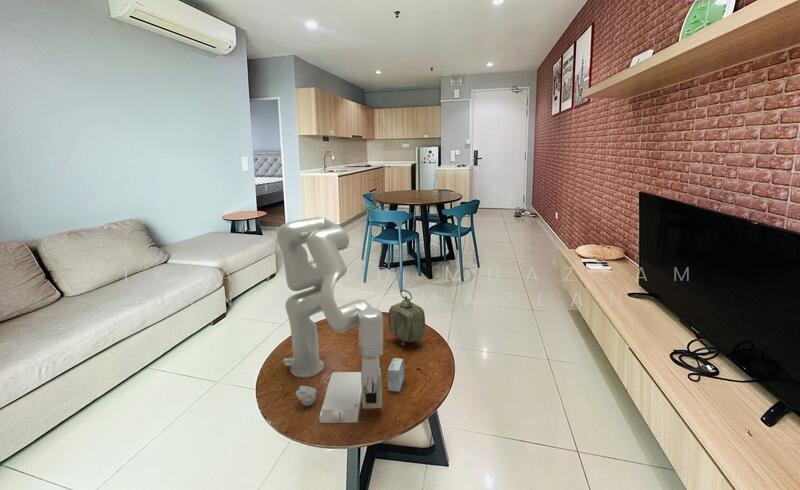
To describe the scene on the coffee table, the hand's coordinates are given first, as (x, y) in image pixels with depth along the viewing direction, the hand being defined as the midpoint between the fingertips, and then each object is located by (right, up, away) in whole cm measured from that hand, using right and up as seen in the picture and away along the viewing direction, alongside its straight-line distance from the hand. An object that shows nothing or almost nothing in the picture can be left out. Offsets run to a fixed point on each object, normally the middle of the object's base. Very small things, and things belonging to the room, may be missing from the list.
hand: (371, 396), depth 124 cm
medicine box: (+8, -2, +16) cm, 17 cm away
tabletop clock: (+12, +6, +43) cm, 45 cm away
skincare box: (0, -3, +1) cm, 3 cm away
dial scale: (-10, -4, +8) cm, 14 cm away
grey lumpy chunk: (-22, -5, +6) cm, 24 cm away
